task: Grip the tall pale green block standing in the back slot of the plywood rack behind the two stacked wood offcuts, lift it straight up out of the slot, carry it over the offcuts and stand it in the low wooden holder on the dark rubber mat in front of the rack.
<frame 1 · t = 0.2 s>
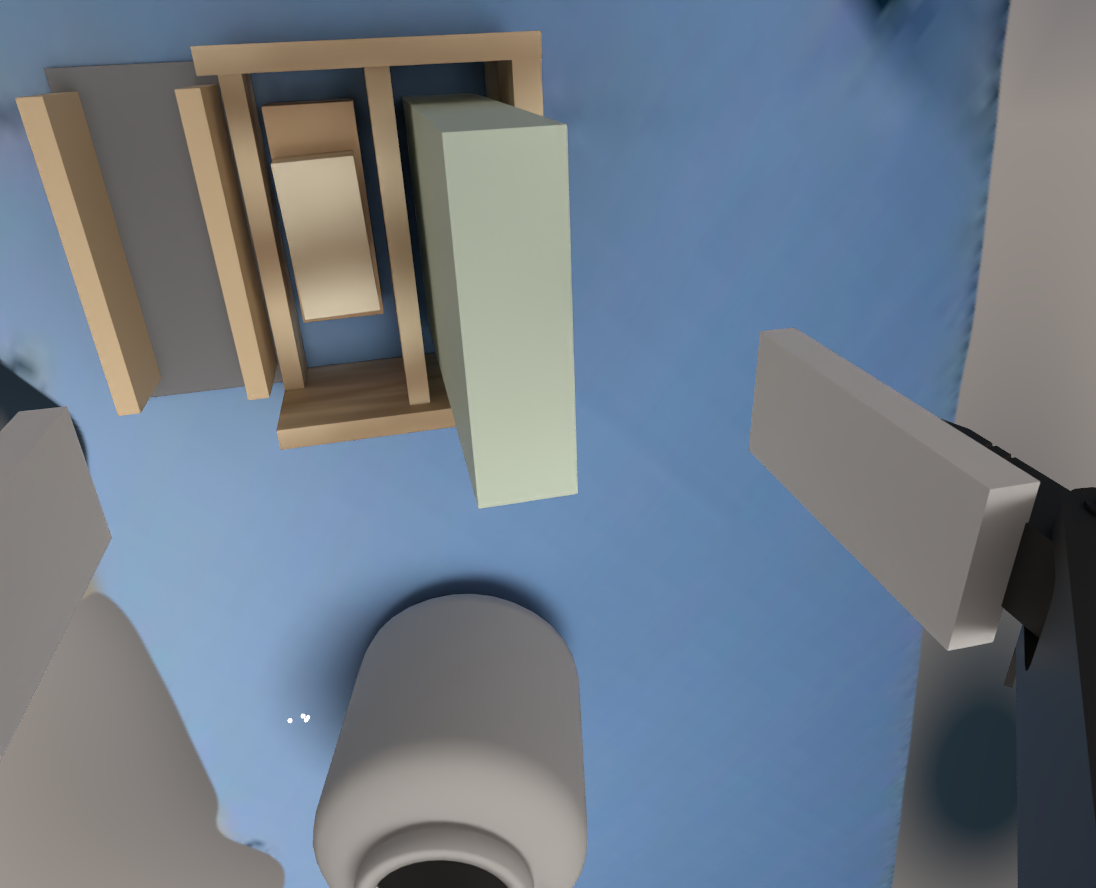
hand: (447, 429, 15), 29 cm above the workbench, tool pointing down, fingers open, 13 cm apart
offcut low: (328, 205, 40), resting in rack, touching offcut top
offcut top: (329, 230, 38), point 3 cm above the workbench, touching offcut low
pale green block: (449, 217, 42), resting in rack
holder: (178, 240, 39), on the workbench
jar: (432, 657, 55), on the workbench
rack: (445, 217, 42), on the workbench
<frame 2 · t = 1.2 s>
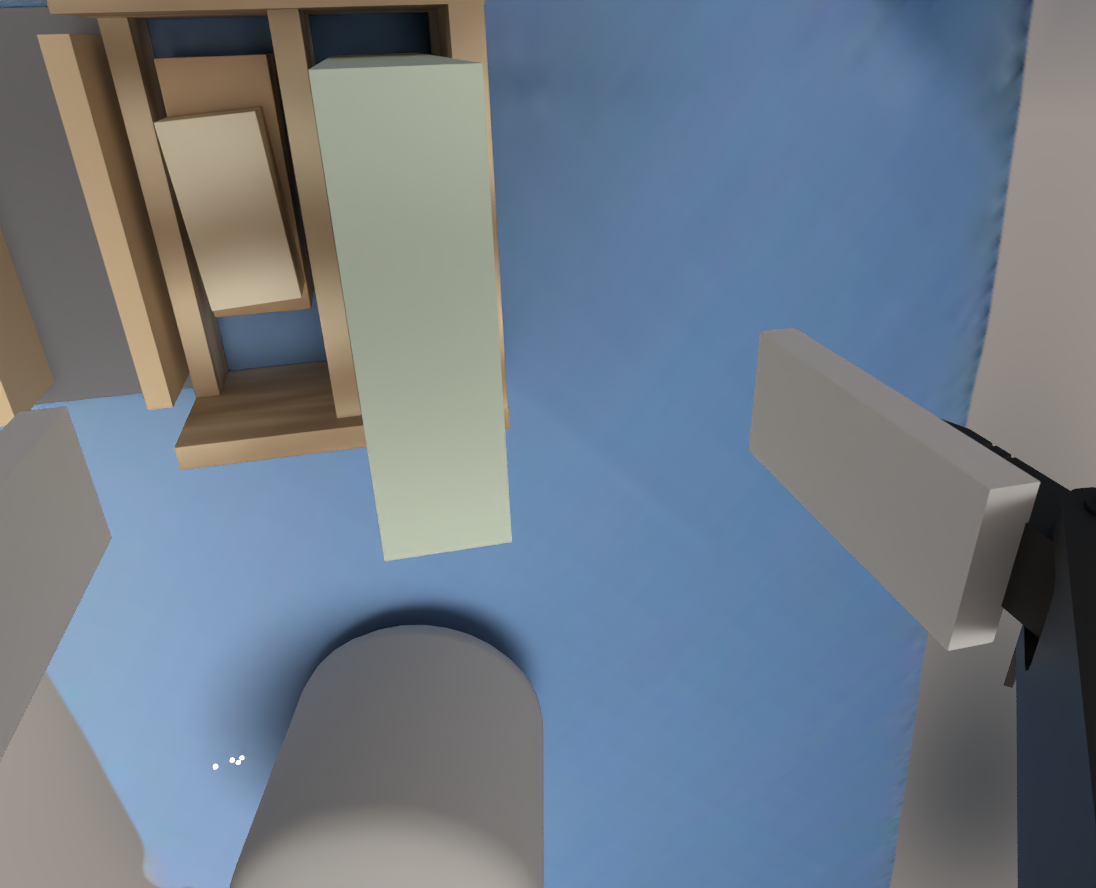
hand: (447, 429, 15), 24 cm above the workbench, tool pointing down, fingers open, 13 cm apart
offcut low: (248, 180, 35), resting in rack, touching offcut top
offcut top: (240, 203, 32), point 3 cm above the workbench, touching offcut low
pale green block: (391, 199, 36), resting in rack
holder: (68, 221, 33), on the workbench
jar: (382, 691, 49), on the workbench
rack: (386, 199, 36), on the workbench
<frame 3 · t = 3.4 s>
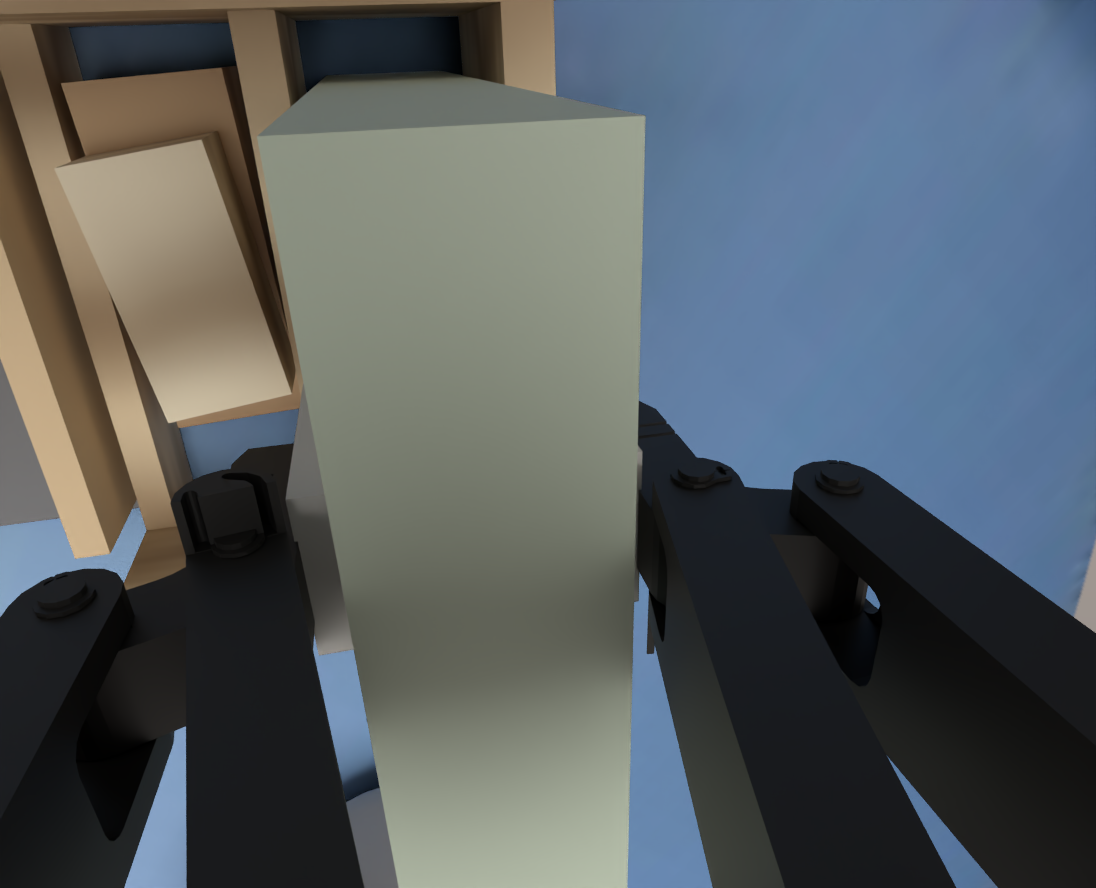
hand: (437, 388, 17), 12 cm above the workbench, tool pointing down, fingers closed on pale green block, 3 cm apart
offcut low: (216, 238, 26), resting in rack
offcut top: (200, 268, 23), point 3 cm above the workbench
pale green block: (406, 263, 27), resting in rack, touching gripper
jar: (390, 846, 40), on the workbench
rack: (400, 263, 27), on the workbench
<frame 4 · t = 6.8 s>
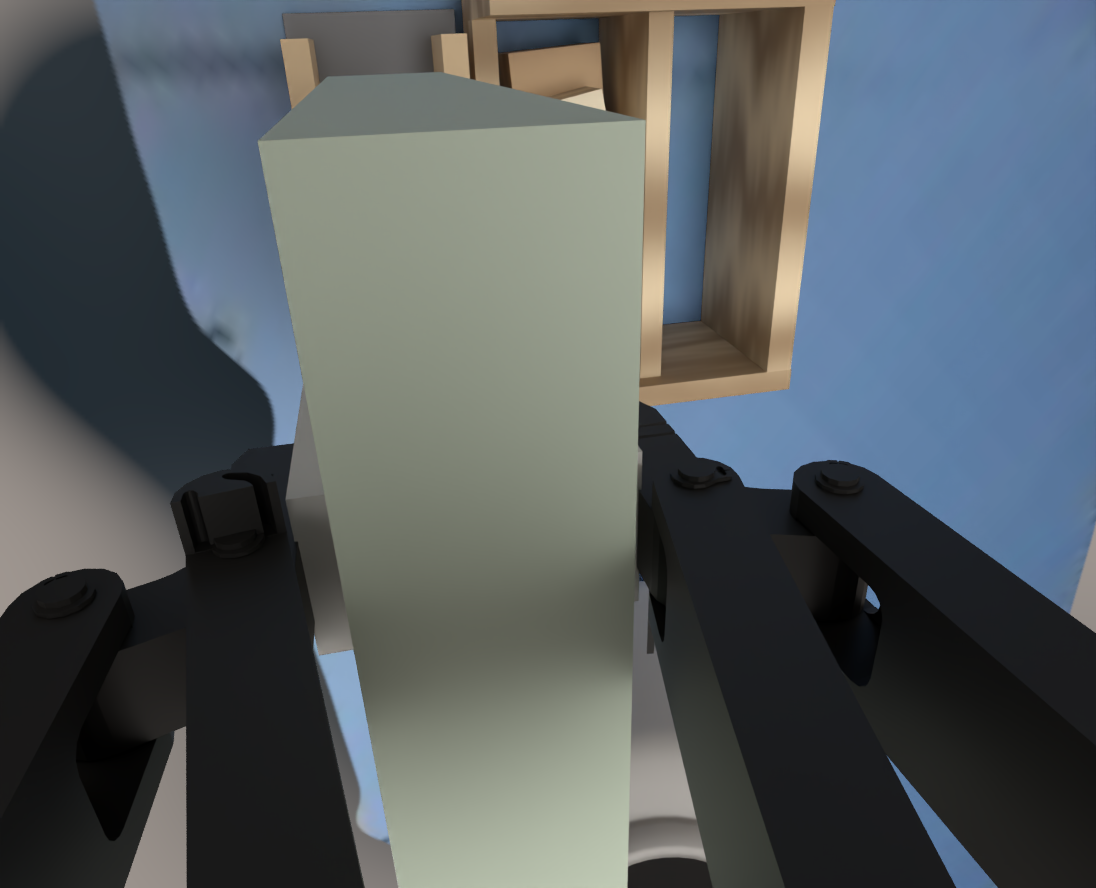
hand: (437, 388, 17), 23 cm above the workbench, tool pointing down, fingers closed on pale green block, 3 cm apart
offcut low: (548, 161, 38), resting in rack, touching offcut top
offcut top: (564, 178, 35), point 3 cm above the workbench, touching offcut low
pale green block: (406, 264, 27), point 12 cm above the workbench, touching gripper
holder: (392, 203, 37), on the workbench
jar: (587, 647, 53), on the workbench
rack: (660, 184, 40), on the workbench
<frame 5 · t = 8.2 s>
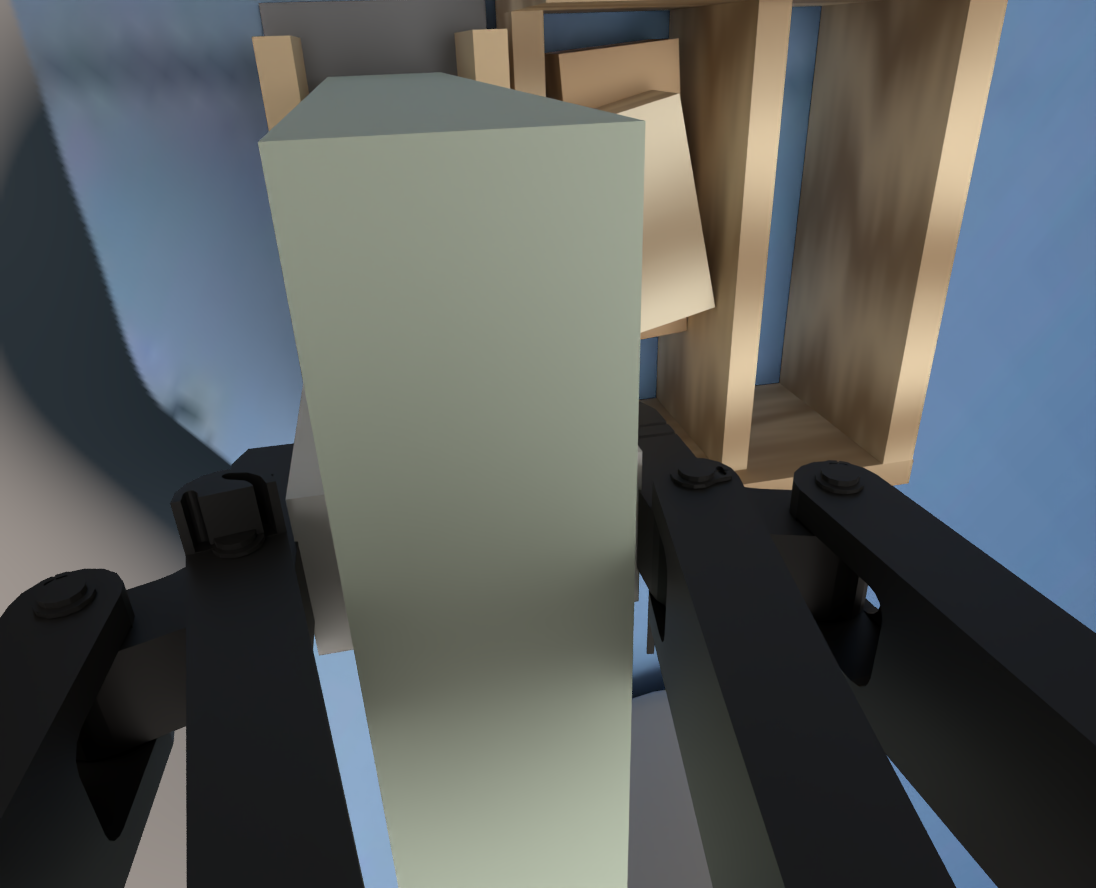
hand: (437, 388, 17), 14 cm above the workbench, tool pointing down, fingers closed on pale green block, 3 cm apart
offcut low: (601, 190, 30), resting in rack
offcut top: (624, 210, 27), point 3 cm above the workbench
pale green block: (406, 264, 27), point 2 cm above the workbench, touching gripper
holder: (402, 246, 29), on the workbench
jar: (629, 755, 45), on the workbench
rack: (738, 219, 32), on the workbench
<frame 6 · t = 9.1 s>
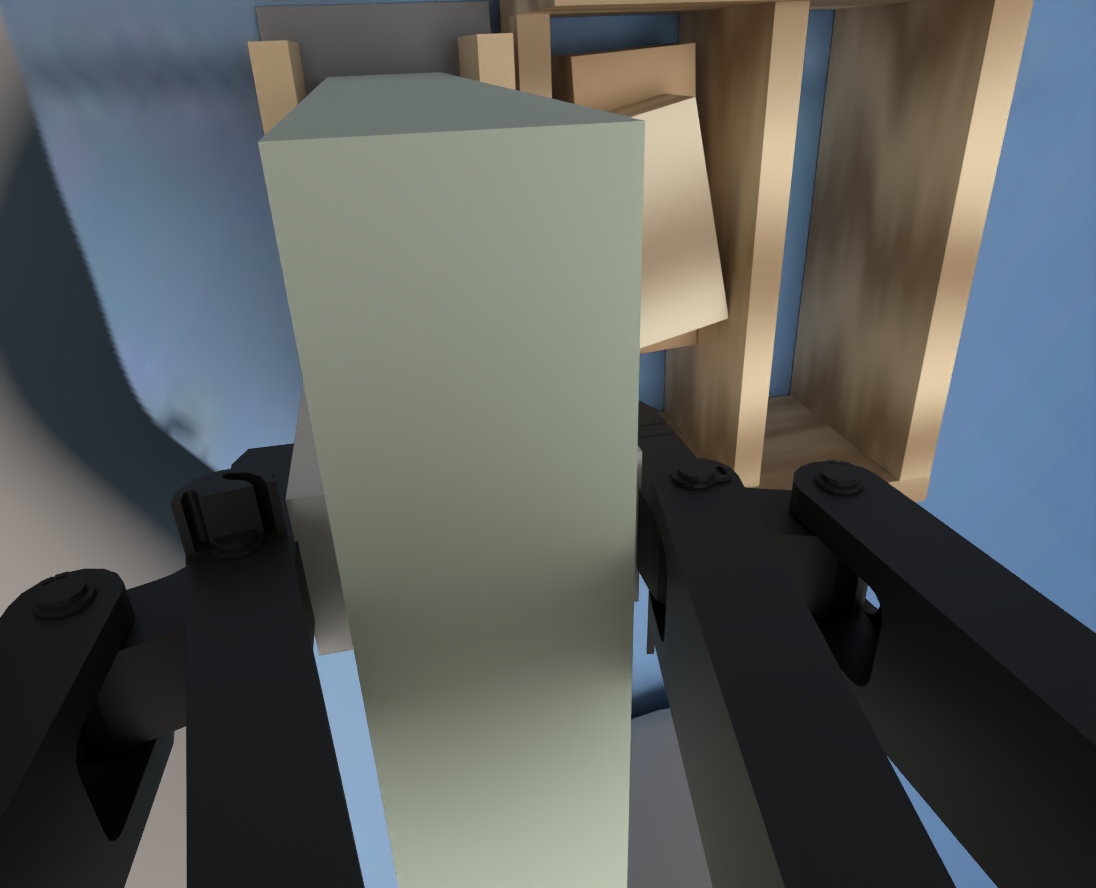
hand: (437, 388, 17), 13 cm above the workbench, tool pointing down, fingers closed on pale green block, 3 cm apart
offcut low: (610, 197, 29), resting in rack, touching offcut top
offcut top: (634, 217, 26), point 3 cm above the workbench, touching offcut low
pale green block: (406, 264, 27), point 1 cm above the workbench, touching gripper
holder: (403, 256, 28), on the workbench
jar: (635, 773, 44), on the workbench
rack: (748, 228, 31), on the workbench
when the fingers open (13 cm above the workbench, at t = 9.1 s): pale green block stays where it is, resting on holder.
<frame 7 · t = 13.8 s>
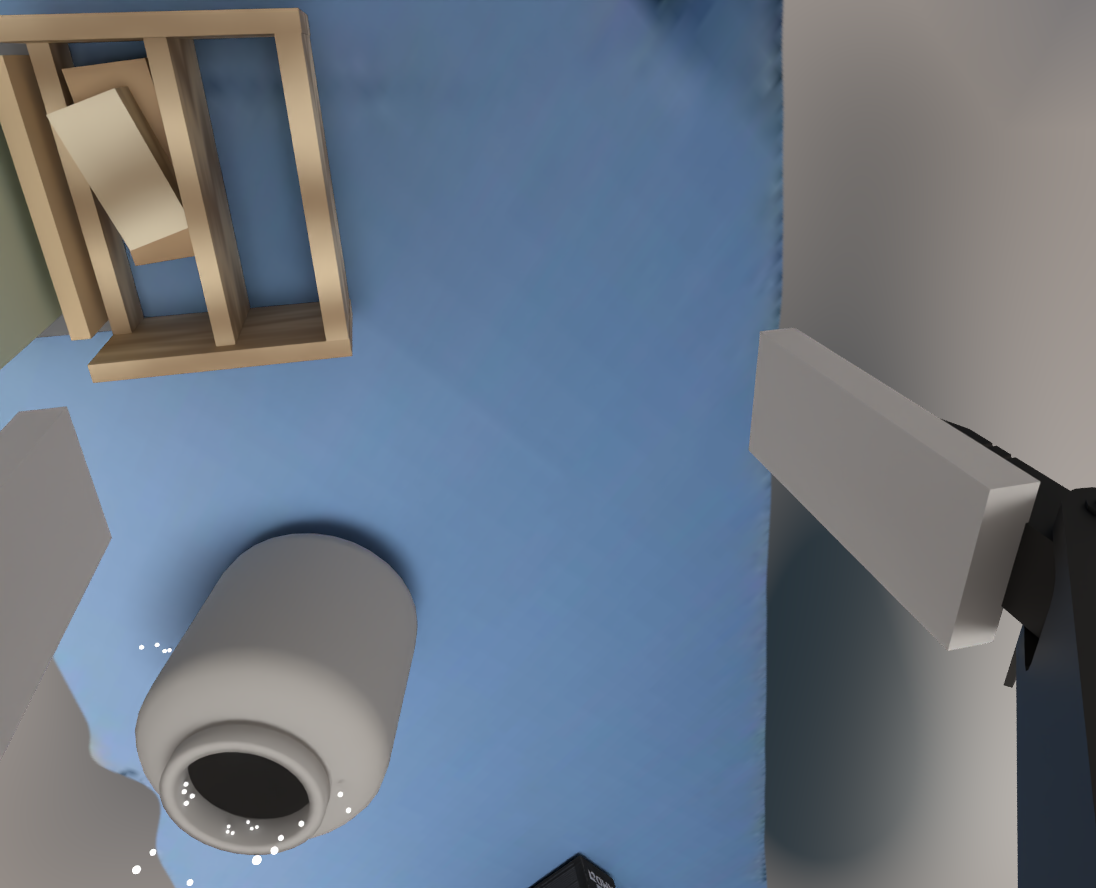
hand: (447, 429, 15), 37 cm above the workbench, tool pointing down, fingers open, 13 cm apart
offcut low: (154, 159, 45), resting in rack
offcut top: (134, 166, 41), point 3 cm above the workbench
pale green block: (10, 197, 43), resting on holder
holder: (12, 197, 44), on the workbench
jar: (287, 596, 59), on the workbench
rack: (263, 181, 46), on the workbench
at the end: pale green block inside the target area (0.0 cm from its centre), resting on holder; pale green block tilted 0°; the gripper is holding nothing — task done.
